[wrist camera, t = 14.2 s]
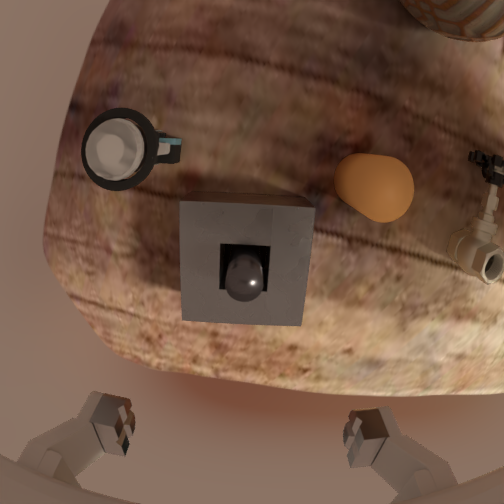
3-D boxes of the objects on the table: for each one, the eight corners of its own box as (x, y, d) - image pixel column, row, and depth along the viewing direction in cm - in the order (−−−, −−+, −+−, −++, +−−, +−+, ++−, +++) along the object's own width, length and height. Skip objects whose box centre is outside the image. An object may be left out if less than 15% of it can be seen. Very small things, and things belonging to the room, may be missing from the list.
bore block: (304, 197, 28) (315, 208, 24) (294, 299, 31) (301, 326, 27) (191, 191, 28) (179, 200, 23) (191, 294, 31) (182, 320, 27)
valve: (473, 266, 31) (498, 165, 27) (506, 290, 24) (537, 174, 21) (431, 258, 30) (457, 148, 27) (464, 283, 24) (497, 152, 20)
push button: (113, 173, 27) (56, 190, 18) (118, 117, 26) (60, 108, 16) (182, 178, 28) (148, 196, 18) (188, 118, 26) (156, 106, 17)
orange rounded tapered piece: (387, 156, 27) (417, 161, 21) (381, 209, 29) (409, 225, 23) (336, 149, 27) (357, 151, 21) (331, 204, 29) (350, 219, 23)
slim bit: (260, 235, 29) (264, 268, 22) (259, 262, 30) (261, 302, 23) (231, 234, 29) (225, 266, 22) (231, 261, 30) (224, 300, 23)
